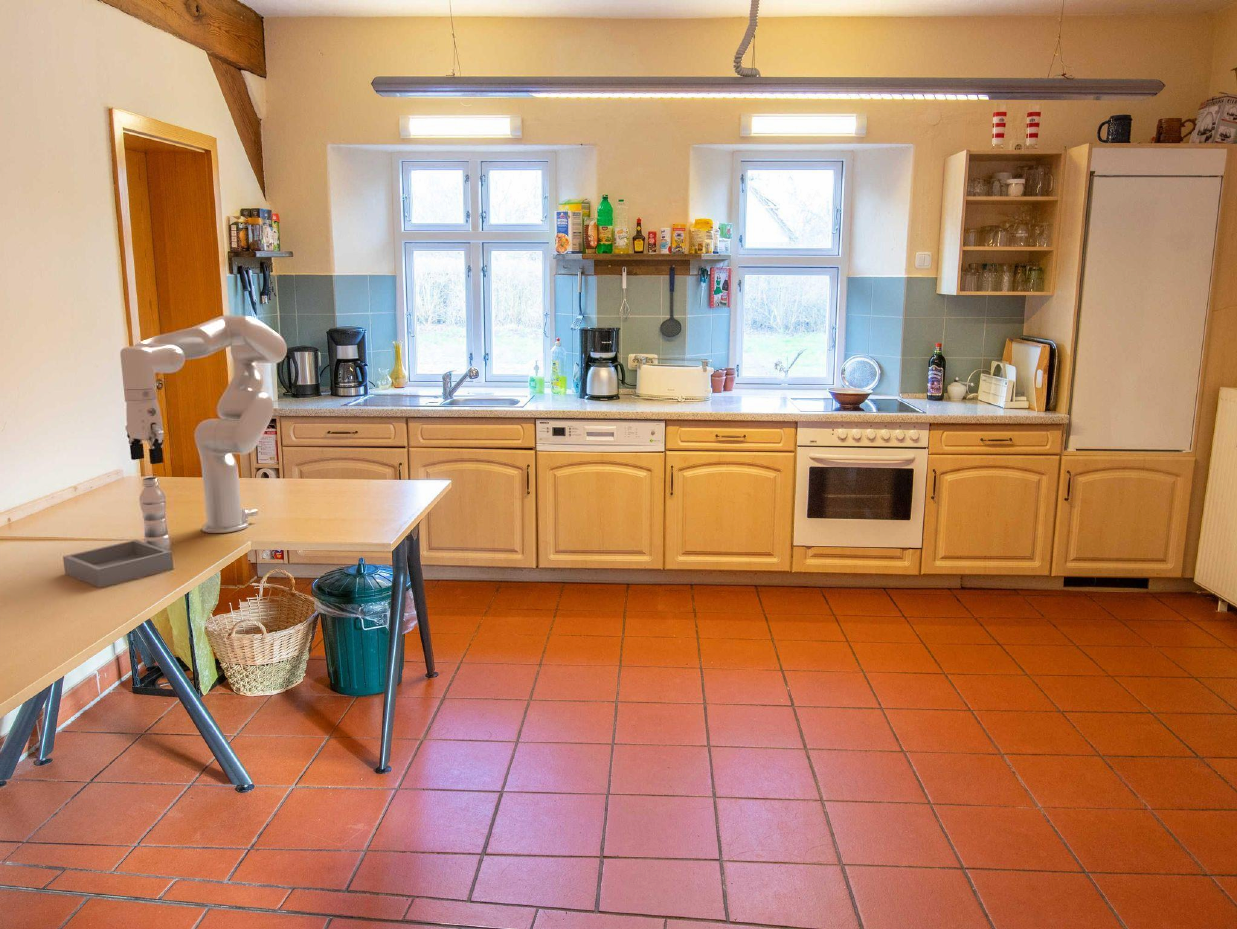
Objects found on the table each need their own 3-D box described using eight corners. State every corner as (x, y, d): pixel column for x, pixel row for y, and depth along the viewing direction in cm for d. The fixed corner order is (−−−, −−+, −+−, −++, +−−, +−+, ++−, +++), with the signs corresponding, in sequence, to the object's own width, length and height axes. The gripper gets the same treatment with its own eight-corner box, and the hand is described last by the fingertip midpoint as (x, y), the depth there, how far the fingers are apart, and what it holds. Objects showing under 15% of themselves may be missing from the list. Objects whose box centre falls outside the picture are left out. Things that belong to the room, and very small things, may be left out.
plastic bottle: (145, 557, 252) (137, 482, 248) (144, 550, 258) (136, 477, 254) (172, 554, 255) (164, 479, 251) (171, 547, 261) (163, 474, 257)
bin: (137, 556, 254) (135, 539, 253) (173, 568, 243) (171, 551, 242) (65, 573, 240) (62, 556, 239) (99, 588, 229) (97, 569, 228)
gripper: (172, 396, 246) (178, 462, 249) (138, 391, 256) (144, 455, 260) (143, 399, 240) (149, 467, 243) (109, 394, 250) (116, 459, 254)
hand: (147, 461), depth 251 cm, fingers open, 9 cm apart
